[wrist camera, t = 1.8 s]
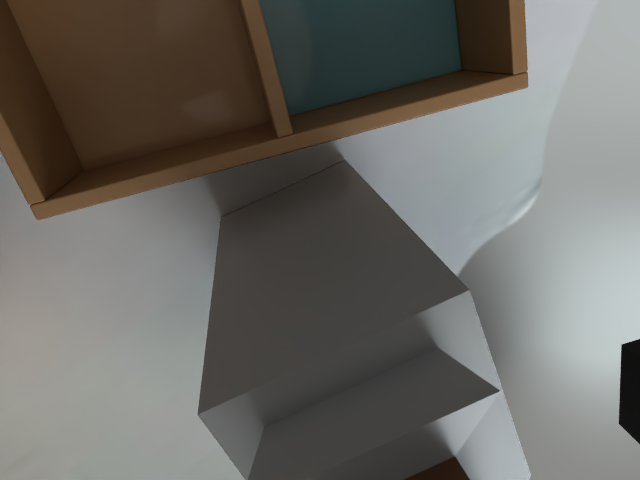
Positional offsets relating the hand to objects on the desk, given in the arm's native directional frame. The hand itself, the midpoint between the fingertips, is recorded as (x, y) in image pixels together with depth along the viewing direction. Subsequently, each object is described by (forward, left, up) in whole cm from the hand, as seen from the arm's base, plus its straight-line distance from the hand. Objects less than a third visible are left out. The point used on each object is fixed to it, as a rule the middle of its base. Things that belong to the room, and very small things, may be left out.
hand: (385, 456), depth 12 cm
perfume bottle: (0, 0, -14) cm, 14 cm away
